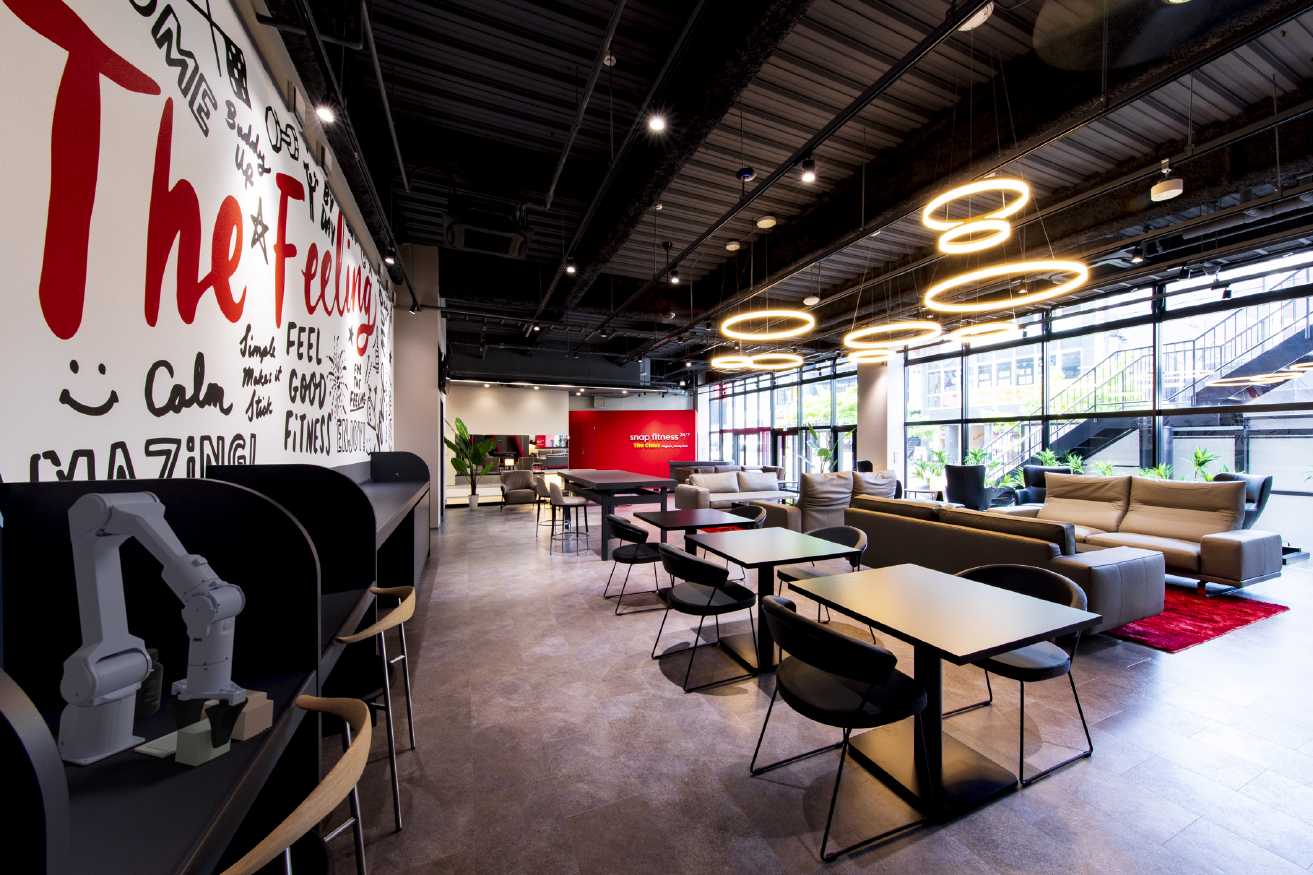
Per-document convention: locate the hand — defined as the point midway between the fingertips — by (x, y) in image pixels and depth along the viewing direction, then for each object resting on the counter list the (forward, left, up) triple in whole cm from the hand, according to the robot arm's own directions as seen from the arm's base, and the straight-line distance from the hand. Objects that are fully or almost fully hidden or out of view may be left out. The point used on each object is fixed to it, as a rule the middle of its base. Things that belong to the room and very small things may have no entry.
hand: (204, 741), depth 86 cm
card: (-9, +1, -2) cm, 9 cm away
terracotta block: (-1, +8, -2) cm, 8 cm away
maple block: (-9, +11, -3) cm, 14 cm away
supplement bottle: (-28, +6, -2) cm, 29 cm away
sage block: (0, 0, -2) cm, 2 cm away
